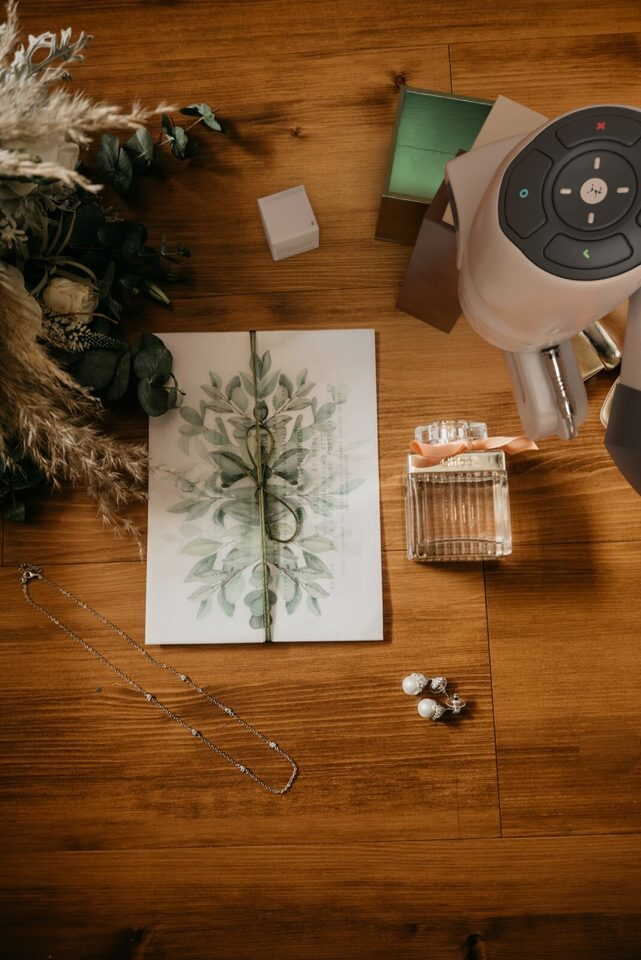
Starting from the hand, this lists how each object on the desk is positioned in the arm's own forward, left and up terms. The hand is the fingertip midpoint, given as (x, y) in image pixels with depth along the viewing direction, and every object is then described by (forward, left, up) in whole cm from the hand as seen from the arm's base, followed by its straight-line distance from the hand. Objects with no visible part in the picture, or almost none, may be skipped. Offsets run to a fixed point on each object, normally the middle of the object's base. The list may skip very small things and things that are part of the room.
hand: (504, 316), depth 58 cm
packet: (+3, -10, -2) cm, 11 cm away
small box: (+21, -15, -25) cm, 36 cm away
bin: (+5, -22, -25) cm, 33 cm away
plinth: (+3, -10, -25) cm, 27 cm away
